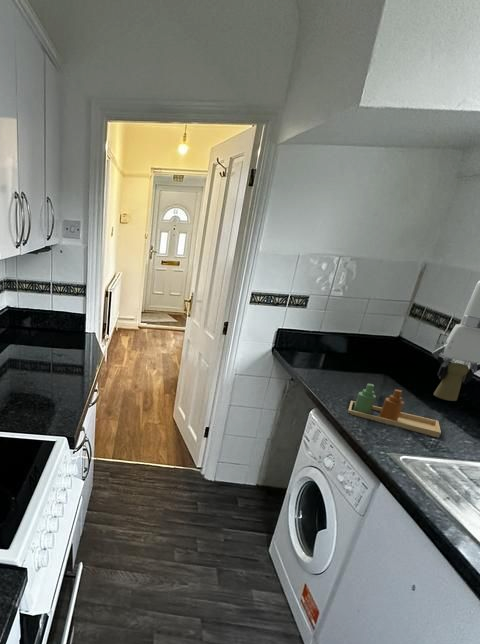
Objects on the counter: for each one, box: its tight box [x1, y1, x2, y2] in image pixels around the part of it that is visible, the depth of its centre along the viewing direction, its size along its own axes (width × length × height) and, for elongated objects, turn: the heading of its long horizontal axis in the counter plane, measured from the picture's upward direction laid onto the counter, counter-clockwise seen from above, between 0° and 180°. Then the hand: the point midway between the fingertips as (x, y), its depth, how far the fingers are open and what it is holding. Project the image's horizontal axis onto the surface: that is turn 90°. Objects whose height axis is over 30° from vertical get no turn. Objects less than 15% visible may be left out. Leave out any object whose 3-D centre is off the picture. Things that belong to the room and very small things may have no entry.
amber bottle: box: [378, 389, 405, 421], centre depth 149 cm, size 6×6×11 cm
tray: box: [347, 400, 442, 439], centre depth 151 cm, size 28×12×2 cm, turn 56°
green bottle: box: [352, 383, 377, 415], centre depth 153 cm, size 6×6×11 cm
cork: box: [433, 362, 470, 402], centre depth 128 cm, size 6×6×11 cm
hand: (452, 380), depth 128 cm, fingers closed on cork, 5 cm apart
